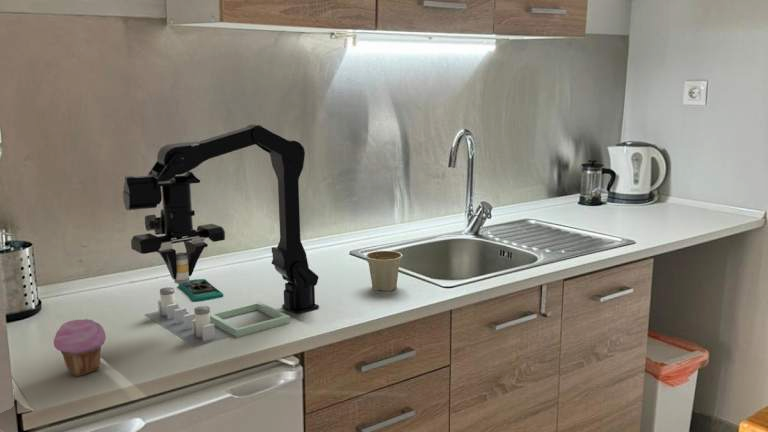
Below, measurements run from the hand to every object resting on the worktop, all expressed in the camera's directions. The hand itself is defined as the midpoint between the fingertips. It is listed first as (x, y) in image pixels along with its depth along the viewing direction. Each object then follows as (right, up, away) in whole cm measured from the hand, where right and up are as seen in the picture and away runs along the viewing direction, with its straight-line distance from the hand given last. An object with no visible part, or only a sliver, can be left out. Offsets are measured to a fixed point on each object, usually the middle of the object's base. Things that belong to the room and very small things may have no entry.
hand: (181, 277), depth 154 cm
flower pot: (+43, -6, +32) cm, 54 cm away
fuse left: (-5, -9, +9) cm, 14 cm away
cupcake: (-14, -16, -18) cm, 28 cm away
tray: (+13, -11, +5) cm, 18 cm away
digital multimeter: (-3, -7, +26) cm, 27 cm away
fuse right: (+6, -12, -4) cm, 14 cm away
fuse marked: (0, -1, 0) cm, 1 cm away
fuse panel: (0, -12, +2) cm, 12 cm away
